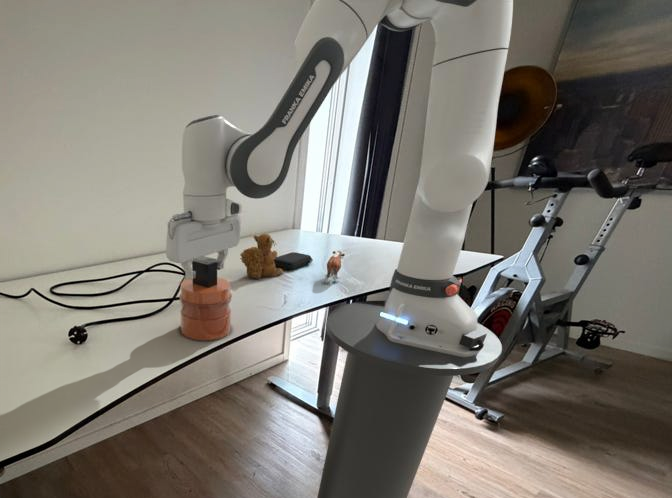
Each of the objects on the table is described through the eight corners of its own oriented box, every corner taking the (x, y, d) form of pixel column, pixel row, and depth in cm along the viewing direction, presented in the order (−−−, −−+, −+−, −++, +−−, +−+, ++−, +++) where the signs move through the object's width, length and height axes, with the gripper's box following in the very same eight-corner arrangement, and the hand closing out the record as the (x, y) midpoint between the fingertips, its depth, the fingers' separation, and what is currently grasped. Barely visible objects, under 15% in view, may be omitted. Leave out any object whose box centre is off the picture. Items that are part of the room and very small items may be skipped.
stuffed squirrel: (284, 273, 128) (288, 233, 122) (258, 283, 120) (261, 241, 114) (261, 267, 135) (263, 229, 128) (234, 277, 127) (236, 236, 120)
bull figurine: (342, 273, 127) (347, 249, 123) (335, 286, 116) (340, 259, 112) (329, 272, 128) (333, 248, 124) (321, 284, 118) (325, 258, 114)
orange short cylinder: (241, 328, 92) (242, 283, 86) (207, 346, 85) (206, 297, 79) (204, 315, 100) (204, 272, 94) (170, 330, 92) (167, 285, 87)
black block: (217, 284, 86) (217, 259, 83) (208, 288, 84) (208, 262, 81) (201, 280, 89) (201, 255, 86) (192, 283, 87) (191, 258, 84)
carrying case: (292, 272, 129) (316, 263, 137) (293, 264, 127) (317, 255, 136) (267, 266, 136) (291, 258, 144) (268, 258, 134) (292, 250, 143)
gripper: (179, 217, 70) (182, 288, 77) (246, 203, 82) (244, 266, 89) (156, 214, 74) (161, 282, 81) (224, 201, 86) (223, 261, 93)
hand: (205, 273), depth 85 cm, fingers open, 8 cm apart
